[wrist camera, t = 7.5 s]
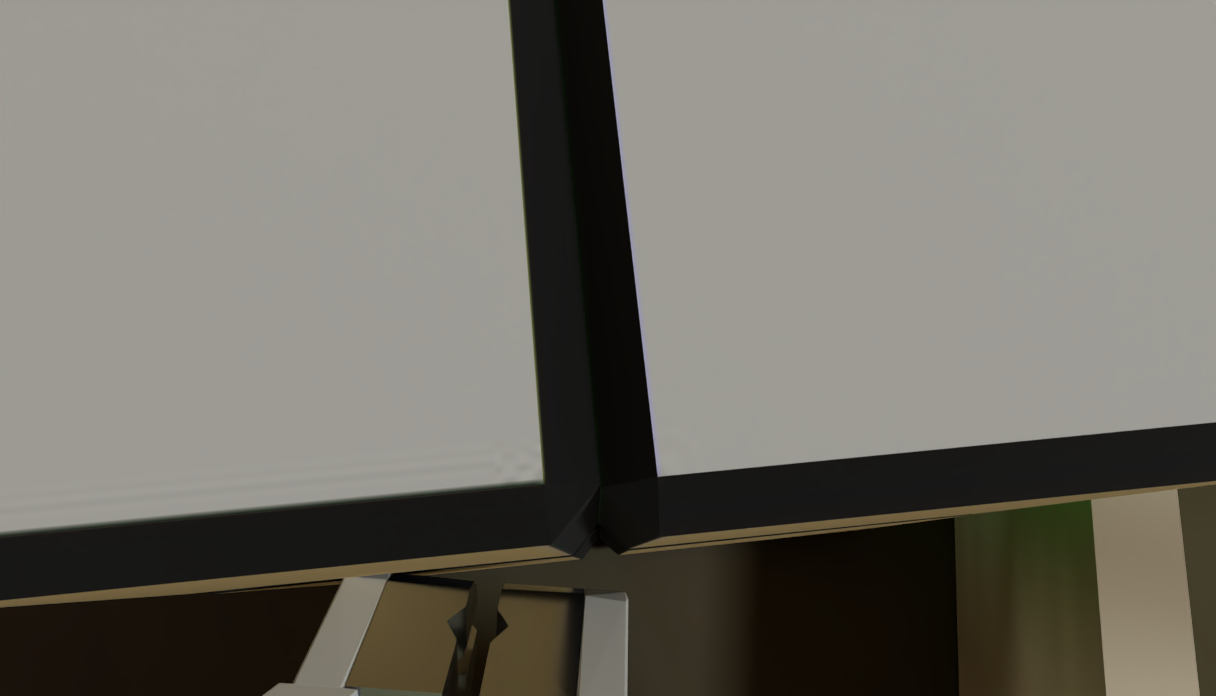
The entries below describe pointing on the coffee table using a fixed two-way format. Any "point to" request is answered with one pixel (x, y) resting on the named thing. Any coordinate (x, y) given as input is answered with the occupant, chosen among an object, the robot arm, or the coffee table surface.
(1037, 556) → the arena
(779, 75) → the puzzle cube
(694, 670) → the coffee table surface
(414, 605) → the robot arm
